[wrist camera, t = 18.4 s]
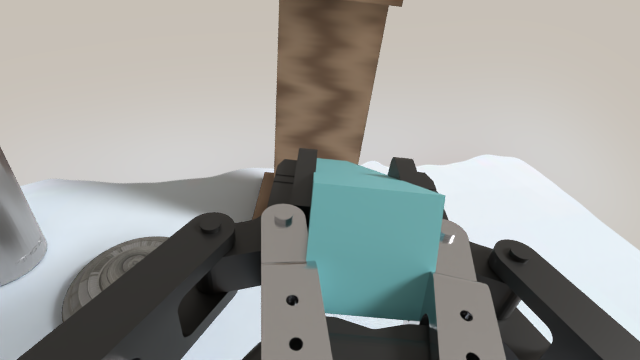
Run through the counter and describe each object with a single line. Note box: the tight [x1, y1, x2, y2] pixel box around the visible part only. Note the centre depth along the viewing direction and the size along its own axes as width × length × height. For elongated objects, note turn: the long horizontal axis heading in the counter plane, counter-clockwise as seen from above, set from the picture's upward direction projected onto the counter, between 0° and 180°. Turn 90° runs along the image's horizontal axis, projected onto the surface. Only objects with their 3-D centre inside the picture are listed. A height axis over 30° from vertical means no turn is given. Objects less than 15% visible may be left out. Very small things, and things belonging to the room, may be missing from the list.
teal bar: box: [306, 158, 445, 321], centre depth 20 cm, size 3×24×3 cm
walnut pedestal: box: [252, 0, 403, 220], centre depth 44 cm, size 16×16×32 cm
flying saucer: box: [62, 237, 169, 322], centre depth 39 cm, size 15×15×6 cm
